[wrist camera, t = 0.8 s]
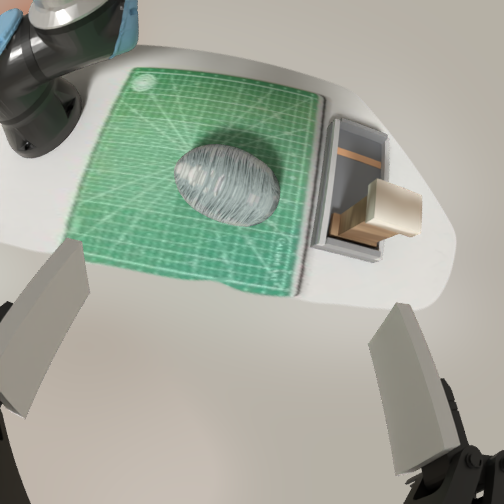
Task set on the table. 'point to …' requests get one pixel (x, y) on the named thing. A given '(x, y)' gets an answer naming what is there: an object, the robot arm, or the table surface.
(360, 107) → the table surface
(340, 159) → the gray rectangular tray
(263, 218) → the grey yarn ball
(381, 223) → the block
